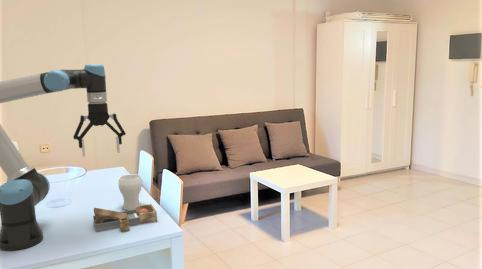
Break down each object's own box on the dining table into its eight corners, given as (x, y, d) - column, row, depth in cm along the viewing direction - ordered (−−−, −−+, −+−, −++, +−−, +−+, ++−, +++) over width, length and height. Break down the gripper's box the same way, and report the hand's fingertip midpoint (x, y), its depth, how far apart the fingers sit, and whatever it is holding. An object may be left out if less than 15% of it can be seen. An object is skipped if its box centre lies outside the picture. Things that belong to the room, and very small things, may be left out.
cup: (137, 212, 185) (135, 180, 182) (116, 210, 187) (113, 179, 184) (146, 204, 195) (145, 174, 192) (126, 202, 197) (124, 173, 194)
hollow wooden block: (121, 232, 162) (120, 221, 162) (119, 229, 165) (119, 218, 165) (129, 230, 164) (128, 220, 163) (128, 227, 167) (127, 217, 166)
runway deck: (95, 232, 163) (95, 224, 162) (93, 222, 173) (93, 215, 172) (140, 224, 170) (140, 217, 170) (136, 215, 180) (135, 209, 179)
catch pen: (140, 224, 170) (140, 214, 169) (136, 215, 180) (135, 206, 179) (157, 221, 173) (156, 211, 172) (151, 213, 183) (151, 203, 182)
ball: (140, 209, 173) (150, 210, 174) (138, 206, 176) (148, 207, 178) (138, 219, 173) (148, 220, 175) (136, 216, 177) (146, 217, 179)
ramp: (96, 227, 164) (94, 213, 163) (94, 220, 171) (93, 207, 170) (129, 221, 169) (128, 208, 168) (126, 215, 177) (125, 202, 176)
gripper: (64, 105, 154) (69, 159, 157) (130, 101, 164) (133, 152, 167) (63, 103, 160) (68, 155, 164) (127, 100, 170) (130, 149, 174)
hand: (101, 154), depth 166 cm, fingers open, 13 cm apart
